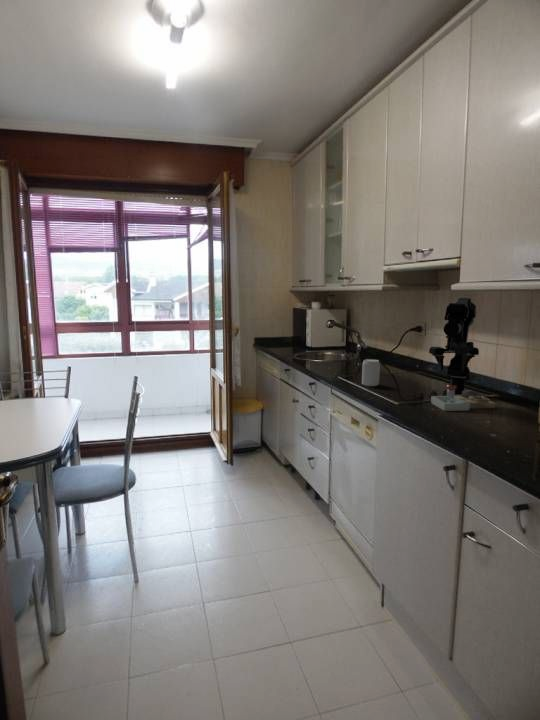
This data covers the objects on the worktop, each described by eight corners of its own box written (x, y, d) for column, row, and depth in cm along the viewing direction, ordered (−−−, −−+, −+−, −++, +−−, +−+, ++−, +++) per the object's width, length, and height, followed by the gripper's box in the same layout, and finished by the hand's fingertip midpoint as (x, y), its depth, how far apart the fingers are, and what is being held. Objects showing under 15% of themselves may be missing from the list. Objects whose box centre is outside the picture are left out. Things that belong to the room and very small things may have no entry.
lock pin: (443, 403, 180) (444, 384, 179) (452, 403, 180) (453, 384, 179) (447, 406, 176) (448, 386, 175) (456, 406, 177) (458, 386, 175)
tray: (430, 402, 184) (431, 396, 184) (454, 402, 185) (455, 395, 184) (444, 410, 172) (444, 403, 172) (469, 410, 173) (469, 403, 173)
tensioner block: (453, 399, 190) (454, 388, 189) (476, 399, 191) (477, 388, 190) (470, 408, 176) (471, 397, 175) (494, 408, 177) (495, 396, 176)
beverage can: (371, 382, 222) (372, 358, 220) (382, 385, 215) (383, 361, 213) (358, 384, 218) (359, 359, 216) (368, 387, 211) (370, 362, 209)
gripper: (441, 336, 175) (439, 375, 178) (487, 336, 177) (484, 375, 179) (429, 333, 186) (427, 370, 189) (473, 333, 188) (470, 369, 190)
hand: (452, 371), depth 187 cm, fingers open, 9 cm apart
